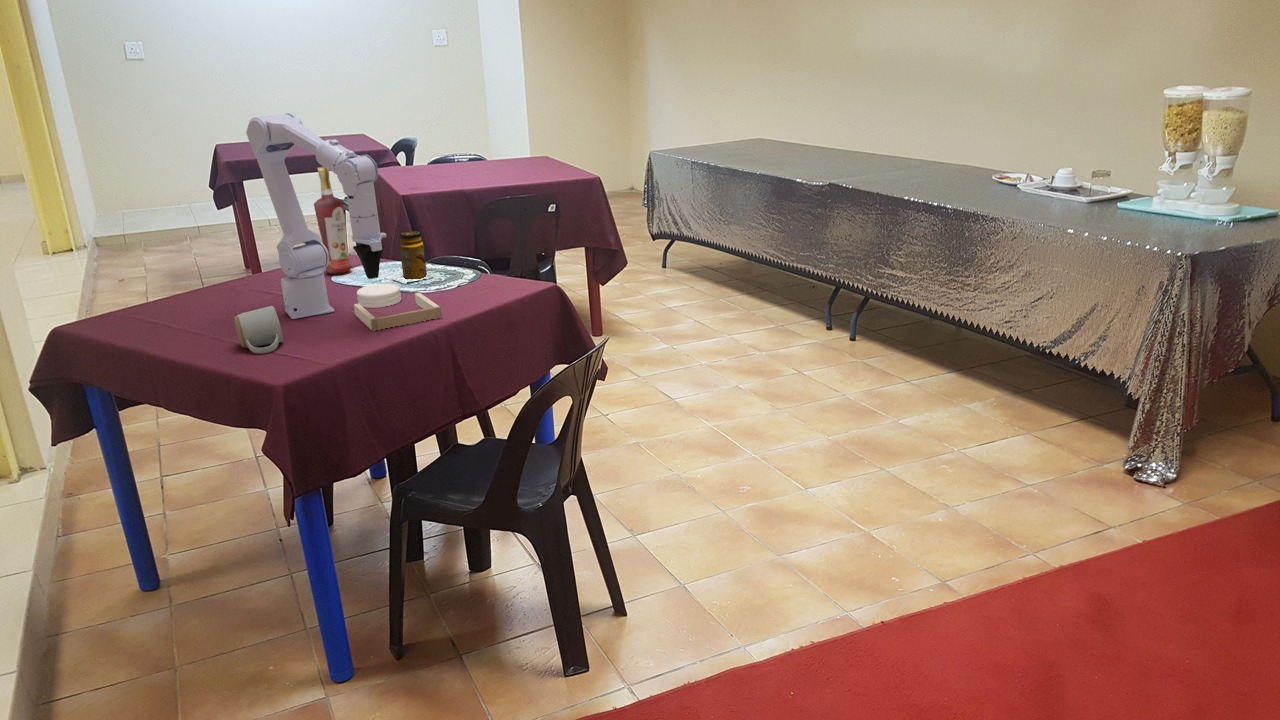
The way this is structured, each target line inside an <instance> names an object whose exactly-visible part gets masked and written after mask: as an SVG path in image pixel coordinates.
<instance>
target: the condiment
mask: <svg viewBox="0 0 1280 720" xmlns="http://www.w3.org/2000/svg"><path fill="white" fill-rule="evenodd" d="M399 238H400V239H399V242H400V244H399V253H400V260H401V269H402V276H403V277H404V278H405V279H421V278H424V277H426V275H427V276H428V274H427V273H428V272H427V262H426V255H425V246H424V242H423V240H422V234H421V232H420V231H417V230H416V231H415V230H413V231H403V232H401V233H400V234H399Z"/></svg>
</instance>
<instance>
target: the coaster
mask: <svg viewBox="0 0 1280 720" xmlns="http://www.w3.org/2000/svg"><path fill="white" fill-rule="evenodd" d="M401 293H402V292H401V288H400V286H399V285H398V284H394V283H375V284H370V285H366V286H363V287H361V288H358V290H357V291H356V295H357V296H356V297H357V304H360V305H361V306H362V307H364V308H365V309H380V308H386V306H387V307H392V306H394V304H395V305H397V304H399V303H400V302H401V301H402V297H401V295H402V294H401ZM391 305H392V306H391Z"/></svg>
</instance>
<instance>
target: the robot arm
mask: <svg viewBox="0 0 1280 720" xmlns="http://www.w3.org/2000/svg"><path fill="white" fill-rule="evenodd" d="M245 133H246V136H247V139H248V142H249V144H250V147H251V150H252V153H253V155H254V158H255V159H257V160H256V161H257V163H258V167H259V168H260V169H259V170H260V172H261V174H262V178H263V181H264V183H265V186H266V189H267V191H268V195H269V197H270V200H271V202H272V205H273V208H274V211H275V215H276V217H277V220H278V223H279V225H280V228H281V230H282V231H281V232H282V234H283V236H282V237H281V239H280V241H279V242H278V243H277V245H276V250H277V253H278V263H279V267H280V269H281V270H282V271H283V273H284V274H285V275H286V276H287V277H282V278H281V279H280V287H281V293H282V297H283V304H284V309H285V311H284V312H285V313H286V314H287V315H288V316H289V318H290V319H291V320H296V319H299V318H300V319H301V318H306V317H312V316H317V315H323V314H330V313H334V312H335V309H334V308H333V306H331V305H330V304H329V297H328V292H327V285H326V280H325V279H326V278H325V273H324V272H327V271H326V266H327V265H328V263H329V253H328V250H327V248H326V247H325V246H324V244H323V243H322V240H321V236H320V234H318V233H316V232H314V231H312V230H311V229H309V228H308V225H307V222H306V219H305V217H304V214H303V210H302V208H301V205H300V202H299V200H298V197H297V194H296V191H295V188H294V186H293V182H292V180H291V177H290V174H289V171H288V168H287V166H286V162H285V160H286V157H287V155H288V154H290V153H291V152H292V150H293V149H294V148H295V147H296V146H297V147H299V148H301V149H303V150H306V151H307V152H309V153H311V154H313V155H315V160H316V161H317V163H318V164H319V165H321V167H325V168H327V169H329V172H332V173H334V175H336V176H337V179H338V181H339V183H340V184H341V187H342V190H343V193H344V195H345V196H346V199H347V200H346V201H347V207H348V214H349V219H350V220H349V221H350V226H351V227H350V228H351V233H352V236H351V240H352V242H354V243H357V244H359V245H354V246H353V247H352V249H353V250H354V251H355V253H356V255H357V256H358V259H360V263H361V265H362V268H363V271H364V273H365V276H366V278H367V279H369V280H372V279H378V278H379V274H380V265H381V264H380V263H381V259H382V255H383V252H384V249H385V247H384V245H382V239H383V238H387V233H385V232H381V227H380V220H379V214H378V206H377V199H376V189H375V185H374V184H375V182H376V181H377V179H378V177H379V168H378V165H377V162H376V161H375V160H374V159H373V158H372V157H371V156H370V155H368V154H362V155H359V154H356V153H355V151H353V150H351V149H348V148H347V147H345V146H343V145H342V144H340V141H338V140H337V139H326V140H324V139H322V138H320V137H319V135H318V134H315V133H314V132H313V131H312V130H310V129H309V128H307V127H306V126H305V125H303V122H302V120H301V118H300V117H298V116H296V115H294V114H293V113H290V112H289V113H288V112H287V113H283V114H277V115H269V116H262V117H261V116H260V117H259V116H255V117H252V118H251V119H250V120H249V122H248V125H247V128H246V132H245ZM300 244H303V245H300ZM296 245H299V246H296ZM295 246H296V247H295Z"/></svg>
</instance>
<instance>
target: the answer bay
mask: <svg viewBox="0 0 1280 720" xmlns="http://www.w3.org/2000/svg"><path fill="white" fill-rule="evenodd" d="M414 299H415V304H416V306H418V307H419V308H421V309H416V310H411V311H406V312H404V311H403V312H401V313H395V314H394V313H393V314H389V315H384V316H378V317H375V316H374V315H373V314H371V312H370V311H368V310H367V308H365V307H362V306H361V305H360V304H358V303H354V304H353V309H354V315H355V316H356V317H357V318H358V319H359V320H360V321H361V322H362V323H363V324H364V325H366V327H367V328H369V330H371V331H372V332H376V330H378V331H381V329H383V330H386V329H385V328H388V329H391V328H390V327H393V328H396V327H395V326H399V327H402V326H401V325H404V326H407V324H409V325H414V324H418V323H417V322H419V323H422V322H421V321H424V322H427V321H426V320H429V321H432V320H431V319H435V320H437V319H436V318H440V317H442V318H443V314H442V307H441V306H440V305H438V304H436V303H435V302H434V301H432V300H431V299H429V298H428V297H426V296H425V295H424V294H422V293H421V292H415V293H414ZM422 308H423V309H422ZM440 319H441V318H440ZM413 323H414V324H413Z"/></svg>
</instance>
